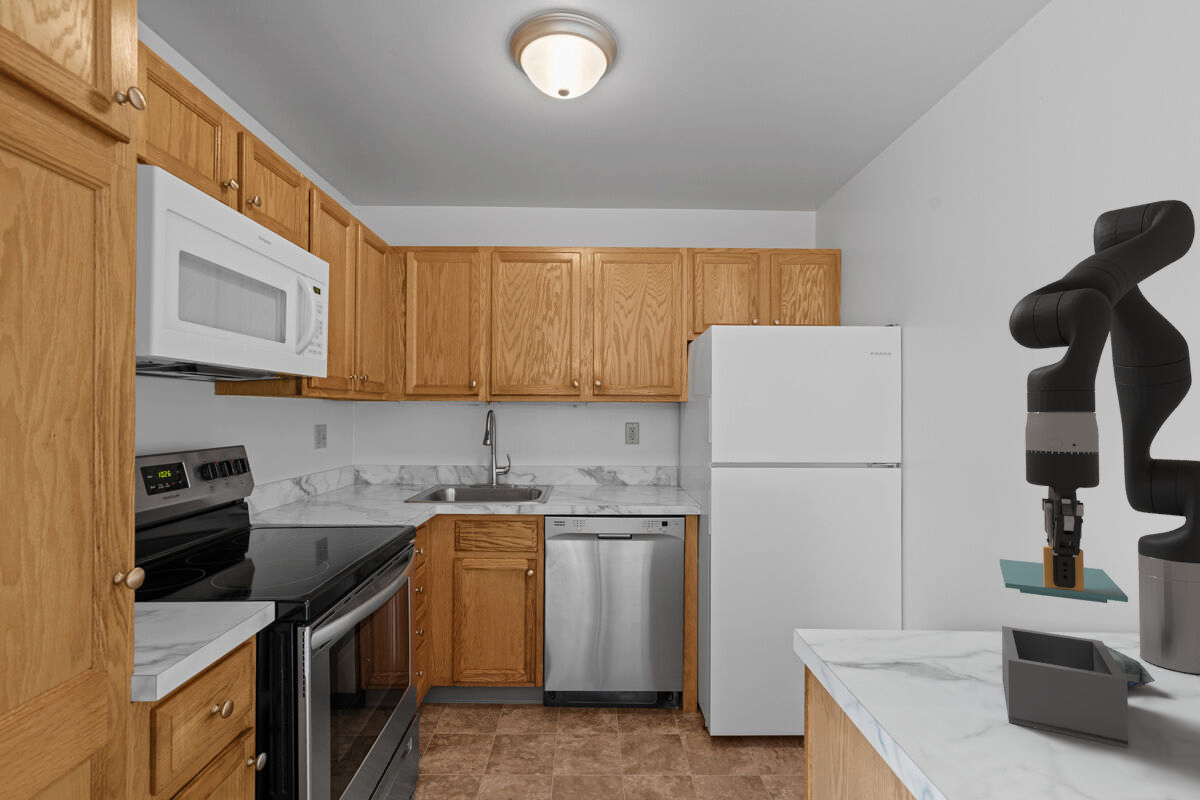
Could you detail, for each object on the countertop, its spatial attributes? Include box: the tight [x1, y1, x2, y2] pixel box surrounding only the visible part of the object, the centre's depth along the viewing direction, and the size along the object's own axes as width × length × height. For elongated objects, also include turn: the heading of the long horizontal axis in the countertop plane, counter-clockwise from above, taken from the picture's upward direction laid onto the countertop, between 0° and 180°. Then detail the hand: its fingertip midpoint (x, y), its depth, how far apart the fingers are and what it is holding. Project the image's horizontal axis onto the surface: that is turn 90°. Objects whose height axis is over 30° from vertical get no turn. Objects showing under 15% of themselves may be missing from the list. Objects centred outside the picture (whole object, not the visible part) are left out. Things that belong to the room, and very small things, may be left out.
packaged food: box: [1104, 644, 1156, 688], centre depth 96 cm, size 9×12×5 cm
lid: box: [999, 545, 1129, 604], centre depth 85 cm, size 16×12×6 cm
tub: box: [1001, 625, 1129, 749], centre depth 85 cm, size 16×12×8 cm
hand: (1063, 584), depth 79 cm, fingers closed on lid, 1 cm apart
